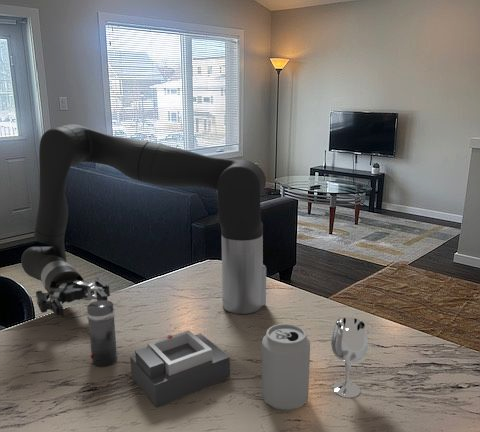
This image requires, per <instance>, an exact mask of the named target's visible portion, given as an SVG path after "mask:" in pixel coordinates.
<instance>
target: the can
mask: <svg viewBox="0 0 480 432" xmlns="http://www.w3.org/2000/svg"><path fill="white" fill-rule="evenodd" d="M310 341H311V340H310V339H309V338H308V336H307V332H306V330H304V328H302V327H300V325H299V326H298V325H295V324H292V323H291V324H290V323H279V324H274V325H272V326H270V327H269V328H267V330H266V333H265V335H264V336H263V338H262V342H261V343H262V345H261V347H262V349H261V350H262V351H261V352H262V353H261V356H262V358H261V359H262V361H261V368H262V370H261V375H262V376H261V397H262V398H263V400H264V402H266V403H267V404H268V405H269V406H271V407H272V408H273V409H276V410H279V411H289V412H290V411H294V410H297V409H298V408H300V407H301V406H303V405H304V404H306V402H307V401H308V399H309V393H310V392H309V390H310V389H309V388H310V386H309V385H310V361H311V359H310V358H311V357H310V356H311V342H310Z"/></svg>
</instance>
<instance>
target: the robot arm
mask: <svg viewBox="0 0 480 432" xmlns="http://www.w3.org/2000/svg"><path fill="white" fill-rule="evenodd" d="M39 141H40V142H39V148H38V149H39V152H38V153H39V154H38V156H39V160H38V161H39V162H38V163H39V199H38V201H39V202H38V210H37V215H36V221H35V225H34V230H33V231H34V232H33V234H34V238H35V240H36V241H37V242H38V243H41V244H43V245H46V246H31V247H28V248H27V249H25V250H24V251H23V253H22V255H21V257H20V261H21V267H22V269H23V271H24V272H25V273H26V274H27V275H28V276H29V277H31V278H34V279H36V280H37V281H41V283H42V285H43V288H44V290H46V292H43V291H42V290H37V291H36V292H35V297H36V304H37V306H38V309H39V311H40V313H46V312H48V310H50V311H51V312H53V314H54V315H55V316H59V317H61V318H62V317H65V316H64V306H65V304H68V303H71V302H74V301H80V300H84V301H88V302H89V301H90V302H91V301H92V300H97V301H101V300H107V301H109V300H108V297H110V295H111V293H110V284H109V283H108V282H106V281H105V280H103V279H102V278H101V277H95V278H94V282H93V281H92V282H89V281H86V280H84V278H83V276H82V274H81V273H79V272H78V271H77V270H76V269H75V268H74V267H73V266H72V265H71V264H70V263H68V262H67V255H66V248H65V234H66V230H67V224H68V220H69V219H68V217H69V204H68V201H67V197H66V191H65V190H66V189H65V188H66V181H67V177H68V174H69V172H70V169H71V167H72V166H75V165H78V164H80V163H93V164H99V165H100V164H101V165H104V166H109V167H111V168H113V169H115V170H117V171H119V172H120V173H122V174H123V175H125V176H127V177H128V178H130V179H132V180H135V181H138V182H141V183H146V184H150V185H155V186H159V187H170V188H171V187H172V188H189V187H190V188H203V189H208V190H213V191H216V192H217V211H218V212H217V213H218V222H219V226H220V230H221V233H220V234H221V235H220V236H221V278H222V279H221V283H222V284H221V286H222V287H221V288H222V289H221V290H222V293H221V294H222V307H223V309H224V310H226V311H227V312H229V313H232V314H240V315H241V314H242V315H247V314H252V313H256V312H258V311H260V310H261V309H262V307H263V306H266V305H267V266H266V265H265V264H264V263H263V261H264V258H263V257H264V256H263V255H264V253H263V252H264V251H263V249H264V247H263V245H264V243H263V241H264V239H263V238H264V237H263V236H264V224H263V221H262V215H261V214H262V213H261V196H262V193H263V192H264V190H265V188H266V184H267V179H266V175H265V172H264V171H263V169H262V168H261V167H260V166H259V165H258V164H256V163H254V162H253V161H249V160H245V159H231V158H222V157H216V156H215V157H214V156H207V155H204V154H200V153H197V152H193V151H191V150H186V149H182V148H179V147H175V146H171V145H167V144H163V143H157V142H153V141H149V140H148V141H147V140H143V139H141V140H140V139H135V138H130V137H123V136H117V135H111V134H108V133H104V132H101V131H99V130H95V129H92V128H90V127H86V126H83V125H80V124H74V123H69V124H64V125H60V126H55V127H52V128H50V129H48V130H46V131H45V132H44V133H43V134H42V136H41V137H40V140H39ZM95 293H96V294H95Z"/></svg>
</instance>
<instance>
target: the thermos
mask: <svg viewBox="0 0 480 432" xmlns="http://www.w3.org/2000/svg"><path fill="white" fill-rule="evenodd" d="M86 310H87V311H86V314H87V322H88V331H89V344H90V351H91V352H90V353H91V354H90V356H89V357H90V358H91V363H92V365H93V366H95V367H99V368H104V367H109V366H112V365H113V364H115V363H116V362H117V361H118V351H117V338H116V323H115V308H114V303H113V302H112V301H110V300H108V301H107V300H101V301H95V300H94V301H93V302H91V303H89V304H88V305H87V307H86Z"/></svg>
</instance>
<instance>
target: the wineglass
mask: <svg viewBox="0 0 480 432" xmlns="http://www.w3.org/2000/svg"><path fill="white" fill-rule="evenodd" d="M367 331H368V330H367V327H366V324H365V322H364V321H362V320H361V319H359V318H355V317H350V316H349V317H348V316H347V317H341V318H338V319H337V320H336V321H335V323H334V327H333V329H332V335H331V339H330V346H331V351H332V353H333V354H334V356H335V357H337V359H339V360H341V361H343V362H345V363H344V367H345V368H344V369H345V380H340V381H337V382H335V383H334V384H333V386H332V390H333V392H334V393H335V394H336V395H338V396H340V397H342V398H347V399H349V398H356V397H358V396H359V395H360V393H361V389H360V387H359V385H357V384H356V383H355V382H352V381H350V380H349V379H350V378H349V377H350V370H351V368H352V363H355V362H359V361H361V360H362V359H363V358H364V357H365V356H366V354H367V351H368V346H369V345H368V344H369V340H368V339H369V338H368V333H367Z"/></svg>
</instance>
